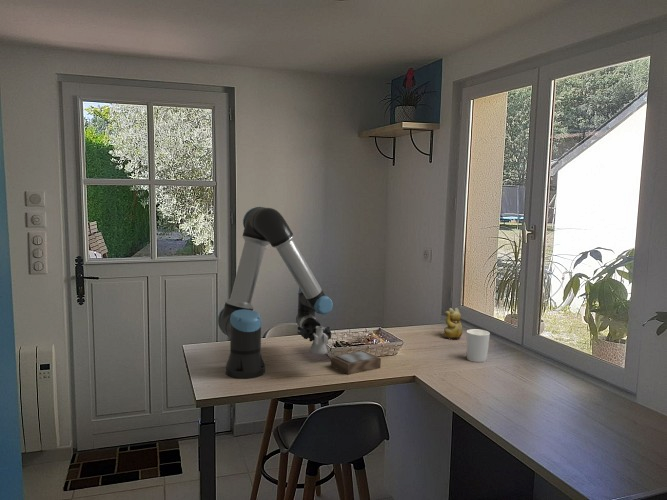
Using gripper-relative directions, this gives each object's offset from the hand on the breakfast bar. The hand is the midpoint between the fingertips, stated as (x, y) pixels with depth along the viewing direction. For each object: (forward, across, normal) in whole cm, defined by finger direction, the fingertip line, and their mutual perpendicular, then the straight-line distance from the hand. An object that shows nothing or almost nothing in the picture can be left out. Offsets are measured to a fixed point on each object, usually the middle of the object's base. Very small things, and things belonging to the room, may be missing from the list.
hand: (322, 340), depth 203 cm
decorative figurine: (-47, -77, -13) cm, 92 cm away
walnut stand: (-12, -17, -14) cm, 25 cm away
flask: (-5, 0, -6) cm, 8 cm away
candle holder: (-13, -72, -13) cm, 74 cm away
